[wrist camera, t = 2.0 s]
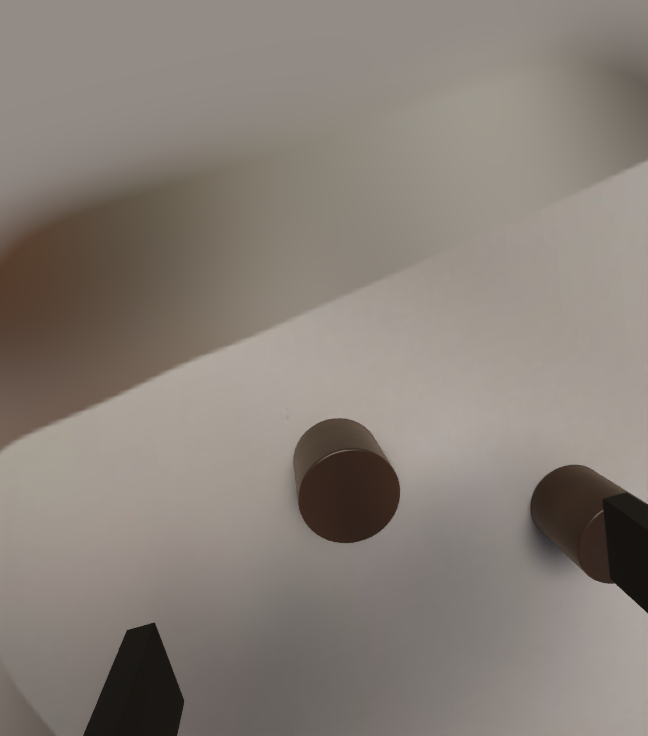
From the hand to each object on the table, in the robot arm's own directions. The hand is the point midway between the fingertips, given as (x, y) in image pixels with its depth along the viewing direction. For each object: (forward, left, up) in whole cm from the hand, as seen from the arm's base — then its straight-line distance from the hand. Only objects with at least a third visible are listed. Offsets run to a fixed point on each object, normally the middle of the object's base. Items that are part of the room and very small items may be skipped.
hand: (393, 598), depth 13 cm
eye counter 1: (+12, -6, -10) cm, 17 cm away
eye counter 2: (0, 0, -10) cm, 10 cm away
